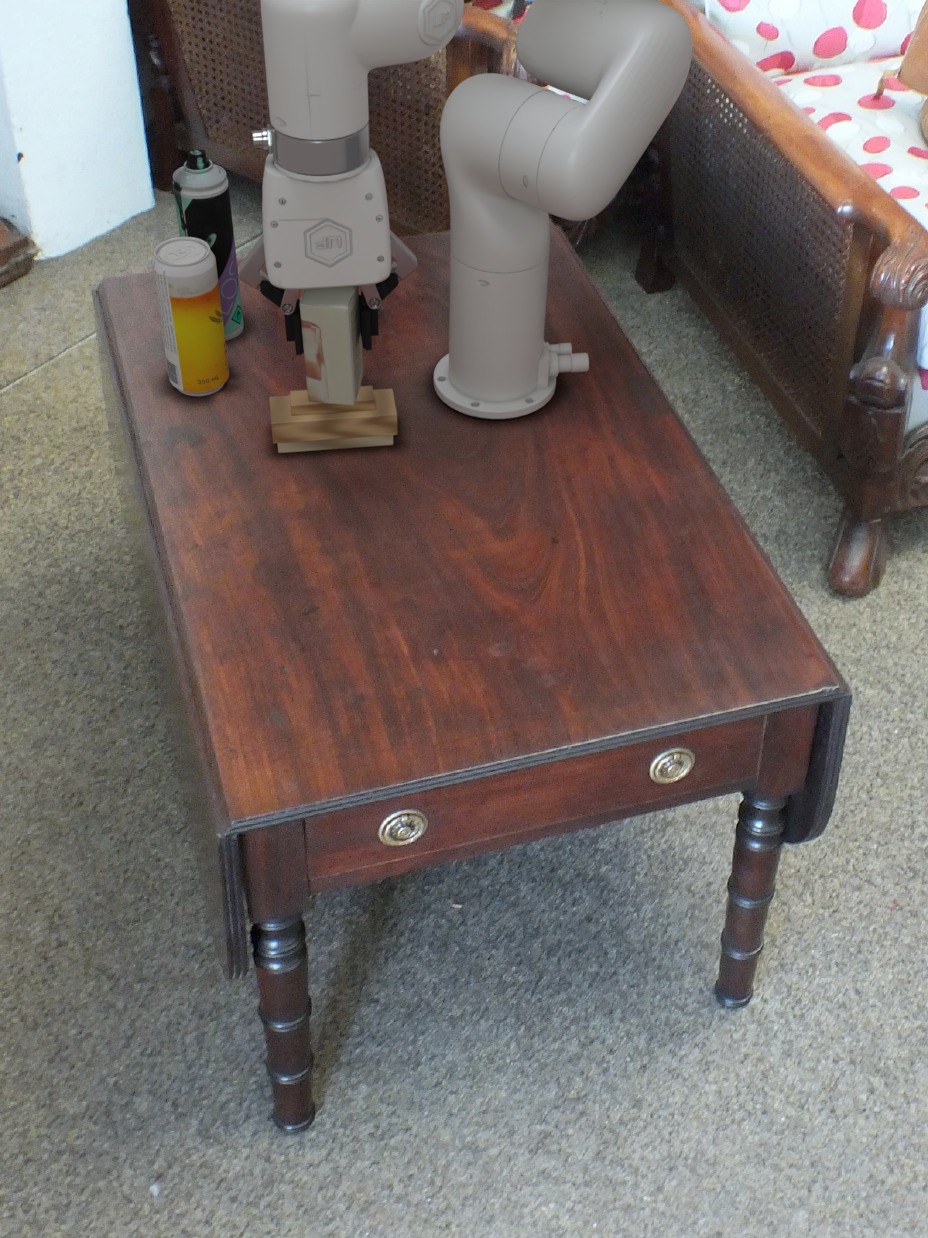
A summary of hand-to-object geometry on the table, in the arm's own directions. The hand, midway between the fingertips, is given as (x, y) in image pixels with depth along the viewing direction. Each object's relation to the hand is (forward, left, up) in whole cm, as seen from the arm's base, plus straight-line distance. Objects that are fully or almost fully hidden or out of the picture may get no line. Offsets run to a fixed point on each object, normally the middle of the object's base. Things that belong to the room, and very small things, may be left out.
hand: (332, 342), depth 119 cm
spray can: (+11, -29, -16) cm, 35 cm away
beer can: (+13, -19, -16) cm, 28 cm away
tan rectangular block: (0, -8, -16) cm, 18 cm away
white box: (0, 0, -5) cm, 5 cm away
